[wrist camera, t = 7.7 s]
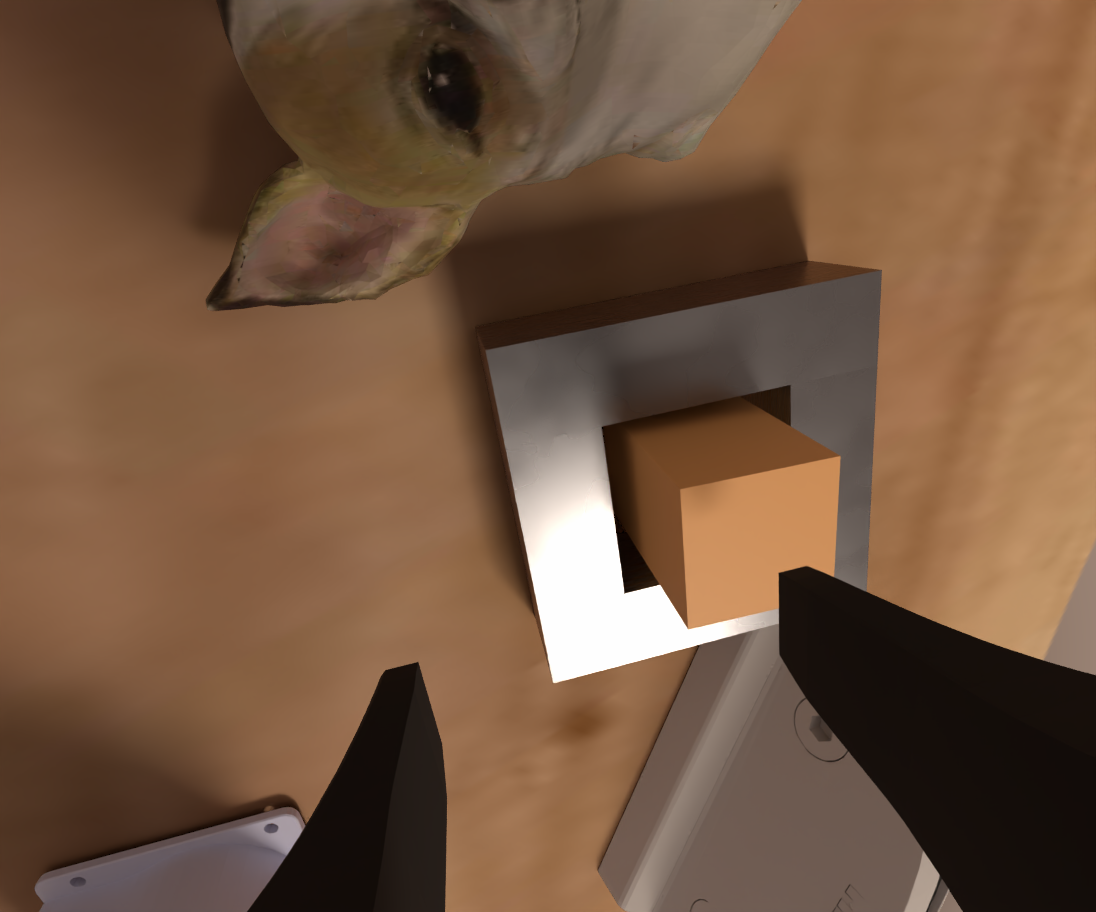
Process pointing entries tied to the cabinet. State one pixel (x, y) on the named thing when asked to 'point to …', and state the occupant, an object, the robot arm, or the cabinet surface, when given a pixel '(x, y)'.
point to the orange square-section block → (723, 504)
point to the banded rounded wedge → (760, 805)
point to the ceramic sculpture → (456, 119)
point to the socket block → (657, 387)
